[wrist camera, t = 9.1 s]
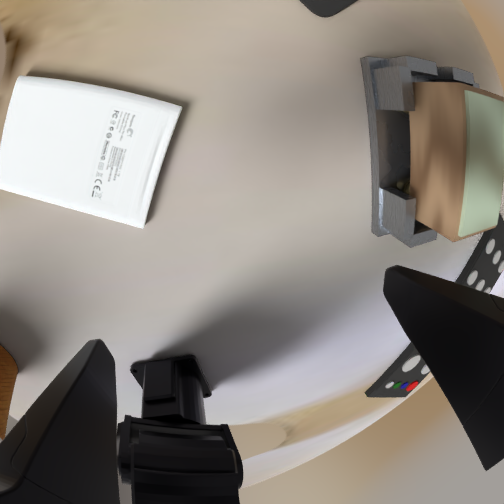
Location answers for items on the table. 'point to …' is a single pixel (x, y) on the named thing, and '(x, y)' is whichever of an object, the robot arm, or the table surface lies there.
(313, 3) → the phone
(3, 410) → the disposable coffee cup
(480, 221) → the brown and green block
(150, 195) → the external hard drive
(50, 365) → the table surface
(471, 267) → the remote control
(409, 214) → the chassis
